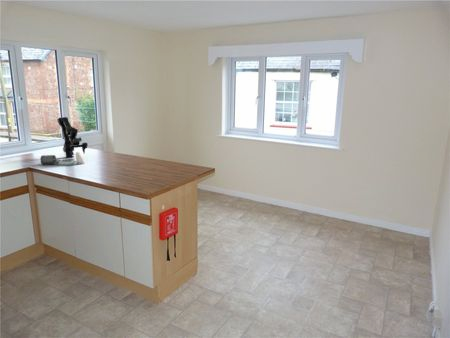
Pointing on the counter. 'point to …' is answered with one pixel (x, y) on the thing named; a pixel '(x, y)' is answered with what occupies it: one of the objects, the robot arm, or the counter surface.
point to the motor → (52, 160)
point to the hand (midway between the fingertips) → (79, 154)
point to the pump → (79, 158)
